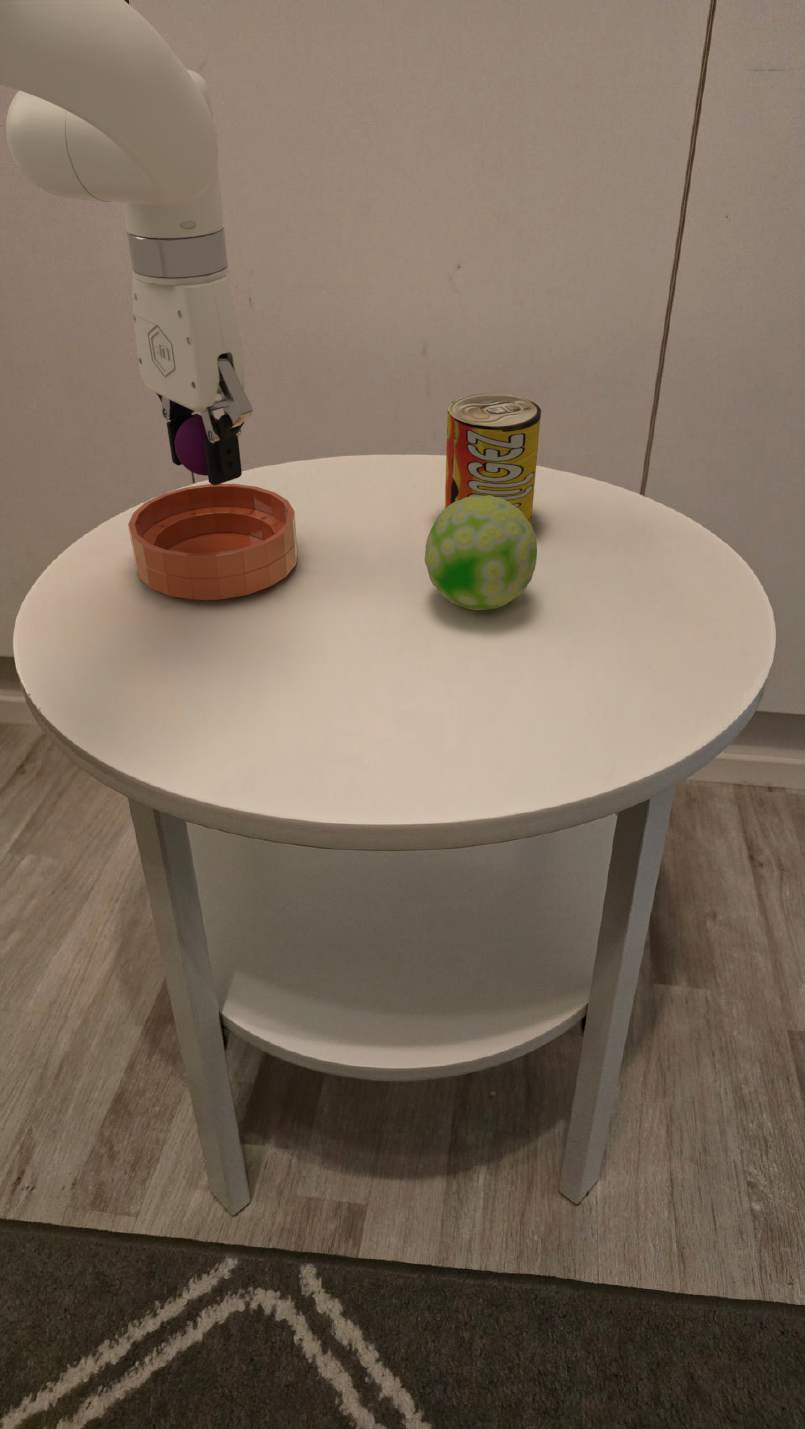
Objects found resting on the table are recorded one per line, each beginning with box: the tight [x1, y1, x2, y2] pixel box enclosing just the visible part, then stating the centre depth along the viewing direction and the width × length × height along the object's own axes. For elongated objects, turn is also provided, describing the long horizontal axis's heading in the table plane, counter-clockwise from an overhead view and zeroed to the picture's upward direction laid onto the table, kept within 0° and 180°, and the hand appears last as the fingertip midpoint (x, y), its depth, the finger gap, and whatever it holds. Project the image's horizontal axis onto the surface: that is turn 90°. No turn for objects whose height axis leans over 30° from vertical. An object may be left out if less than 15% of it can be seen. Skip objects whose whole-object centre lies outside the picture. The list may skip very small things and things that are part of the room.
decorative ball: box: [424, 495, 538, 611], centre depth 86 cm, size 10×10×10 cm
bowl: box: [127, 483, 298, 601], centre depth 93 cm, size 15×15×5 cm
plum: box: [175, 414, 219, 477], centre depth 88 cm, size 5×5×5 cm
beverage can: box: [444, 393, 542, 525], centre depth 98 cm, size 9×9×12 cm
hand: (206, 468), depth 89 cm, fingers closed on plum, 5 cm apart
